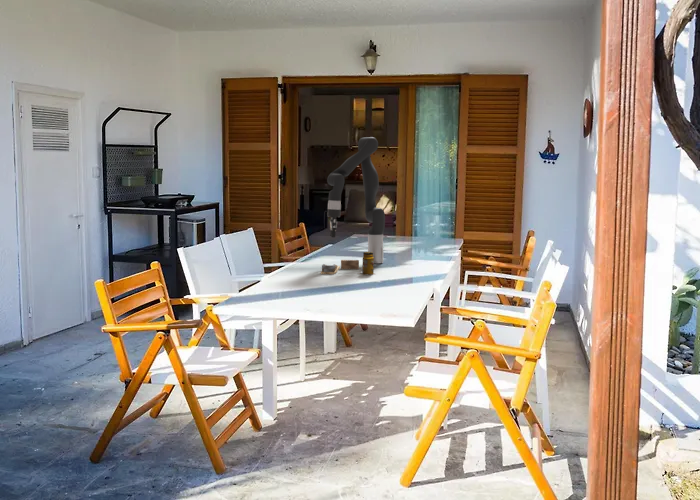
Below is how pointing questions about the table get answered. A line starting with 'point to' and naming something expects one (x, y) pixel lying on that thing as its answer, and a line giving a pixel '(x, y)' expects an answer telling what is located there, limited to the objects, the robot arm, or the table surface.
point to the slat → (349, 264)
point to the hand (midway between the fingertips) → (332, 236)
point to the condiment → (368, 264)
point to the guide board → (329, 269)
